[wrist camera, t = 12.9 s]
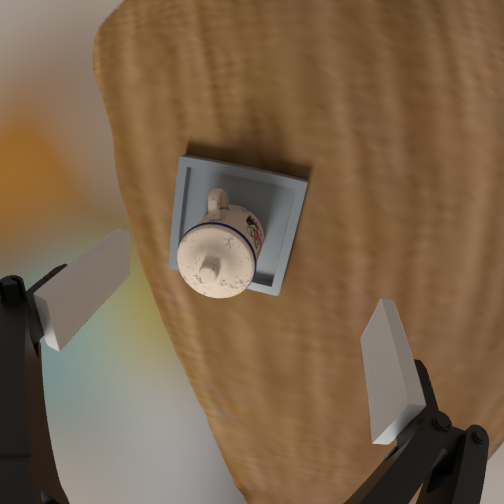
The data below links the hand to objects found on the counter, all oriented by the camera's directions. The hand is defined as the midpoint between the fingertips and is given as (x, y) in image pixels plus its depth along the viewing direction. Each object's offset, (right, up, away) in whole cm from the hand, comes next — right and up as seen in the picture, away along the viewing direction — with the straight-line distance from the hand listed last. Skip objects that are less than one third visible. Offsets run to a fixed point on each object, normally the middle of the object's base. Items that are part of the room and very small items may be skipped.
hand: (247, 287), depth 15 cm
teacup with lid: (-2, +5, +26) cm, 27 cm away
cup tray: (-2, +6, +27) cm, 27 cm away
